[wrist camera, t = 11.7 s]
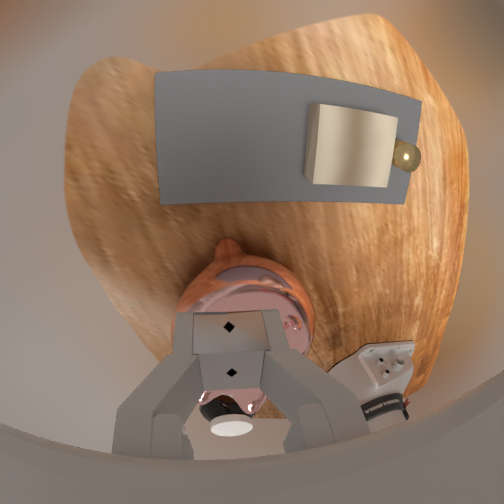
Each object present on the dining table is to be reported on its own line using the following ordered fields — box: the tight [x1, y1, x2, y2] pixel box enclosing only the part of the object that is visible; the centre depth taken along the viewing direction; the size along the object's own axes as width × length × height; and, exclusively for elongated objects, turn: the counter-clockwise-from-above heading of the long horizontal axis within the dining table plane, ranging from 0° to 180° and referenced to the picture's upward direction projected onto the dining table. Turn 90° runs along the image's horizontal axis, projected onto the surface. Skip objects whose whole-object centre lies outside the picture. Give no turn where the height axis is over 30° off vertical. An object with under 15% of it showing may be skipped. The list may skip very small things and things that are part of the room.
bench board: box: [155, 70, 422, 205], centre depth 28 cm, size 30×14×2 cm, turn 88°
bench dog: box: [392, 138, 421, 172], centre depth 27 cm, size 3×3×4 cm
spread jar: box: [199, 395, 257, 436], centre depth 43 cm, size 12×11×12 cm
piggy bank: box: [171, 239, 315, 414], centre depth 31 cm, size 15×18×16 cm
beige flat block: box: [304, 103, 398, 188], centre depth 27 cm, size 9×8×3 cm
